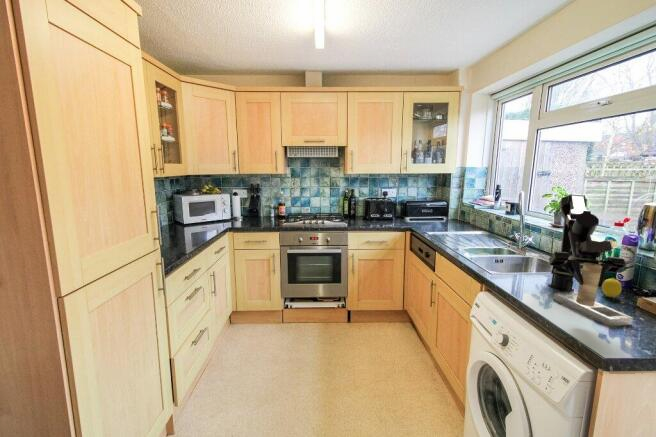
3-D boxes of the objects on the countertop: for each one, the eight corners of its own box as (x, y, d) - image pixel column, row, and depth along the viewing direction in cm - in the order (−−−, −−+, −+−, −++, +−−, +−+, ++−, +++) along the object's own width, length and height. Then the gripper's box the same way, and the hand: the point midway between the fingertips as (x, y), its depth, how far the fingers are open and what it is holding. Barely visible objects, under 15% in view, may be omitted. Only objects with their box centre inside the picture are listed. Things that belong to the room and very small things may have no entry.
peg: (572, 300, 97) (580, 262, 95) (583, 299, 98) (591, 262, 96) (586, 306, 93) (594, 267, 91) (597, 305, 94) (605, 267, 92)
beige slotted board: (553, 299, 113) (554, 293, 113) (572, 298, 115) (573, 292, 115) (608, 326, 95) (610, 319, 94) (631, 324, 96) (632, 317, 96)
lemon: (609, 294, 120) (613, 275, 119) (623, 300, 114) (627, 281, 113) (596, 294, 120) (600, 275, 118) (609, 300, 114) (613, 280, 113)
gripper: (558, 227, 98) (566, 269, 90) (629, 233, 92) (645, 279, 84) (546, 244, 107) (552, 284, 99) (610, 251, 101) (622, 294, 92)
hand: (591, 285), depth 93 cm, fingers closed on peg, 4 cm apart
